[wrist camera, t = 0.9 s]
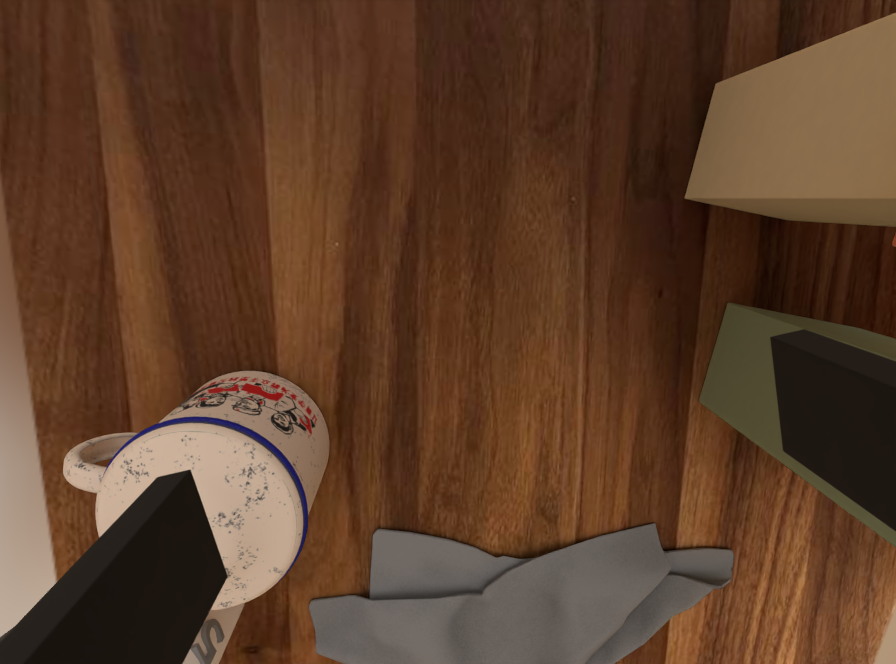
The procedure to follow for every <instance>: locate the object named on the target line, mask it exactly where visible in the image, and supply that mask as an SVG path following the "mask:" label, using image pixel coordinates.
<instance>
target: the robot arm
mask: <svg viewBox="0 0 896 664" xmlns="http://www.w3.org/2000/svg"><path fill="white" fill-rule="evenodd" d="M770 340H771V349H772V358H773V367H774V376H775V385H776V394H777V402H778V411H779V420H780V429H781V438H782V447H783V451H784V452H785V453H786V454H788V455H789V456H791V457H792V458H793V459H795V460H796V461H798V462H799V463H800V464H802V465H803V466H805V467H806V468H807V469H809V470H810V471H812V472H813V473H814V474H816V475H817V476H819V477H820V478H821V479H823V480H824V481H826V482H827V483H828V484H830V485H831V486H833V487H834V488H835V489H837V490H838V491H840V492H841V493H842V494H844V495H845V496H847V497H848V498H849V499H851V500H852V501H854V502H855V503H856V504H858V505H859V506H861V507H862V508H863V509H865V510H866V511H868V512H869V513H870V514H872V515H873V516H875V517H876V518H877V519H879V520H880V521H882V522H883V523H884V524H886V525H887V526H889V527H890V528H891V529H893V530H894V531H896V361H893V360H891V359H888V358H885V357H882V356H879V355H876V354H874V353H871V352H868V351H865V350H862V349H859V348H857V347H854V346H851V345H848V344H845V343H842V342H840V341H837V340H834V339H831V338H828V337H825V336H822V335H820V334H817V333H814V332H811V331H808V330H805V329H803V330H798V331H794V332H790V333H785V334H781V335H777V336H772V337H770ZM227 577H228V575H227V573H226V570H225V567H224V564H223V561H222V558H221V555H220V552H219V550H218V547H217V544H216V541H215V538H214V535H213V532H212V529H211V527H210V524H209V521H208V518H207V515H206V512H205V509H204V506H203V504H202V501H201V498H200V495H199V492H198V489H197V486H196V484H195V481H194V478H193V475H192V472H191V469H190V470H186V471H181V472H177V473H173V474H168V475H164V476H160V477H157V478H156V479H155V480H154V481H153V482H152V483H151V484H150V485H149V486H148V487H147V488H146V489H145V490H144V491H143V493H142V494H141V495H140V496H139V497H138V498H137V499H136V500H135V501H134V502H133V503H132V504H131V505H130V506H129V507H128V508H127V509H126V510H125V511H124V512H123V514H122V515H121V516H120V517H119V518H118V519H117V520H116V521H115V522H114V523H113V524H112V525H111V526H110V527H109V528H108V529H107V530H106V531H105V532H104V533H103V535H102V536H101V537H100V538H99V539H98V540H97V541H96V542H95V543H94V544H93V545H92V546H91V547H90V548H89V549H88V550H87V551H86V552H85V553H84V554H83V556H82V557H81V558H80V559H79V560H78V561H77V562H76V563H75V564H74V565H73V566H72V567H71V568H70V569H69V570H68V571H67V572H66V573H65V574H64V575H63V577H62V578H61V579H60V580H59V581H58V582H57V583H56V584H55V585H54V586H53V587H52V588H51V589H50V590H49V591H48V592H47V593H46V594H45V595H44V597H43V598H42V599H41V600H40V601H39V602H38V603H37V604H36V605H35V606H34V607H33V608H32V609H31V610H30V611H29V612H28V613H27V614H26V615H25V616H24V617H23V619H22V620H21V621H20V622H19V623H18V624H17V625H16V626H15V627H13V628H12V629H11V630H10V631H8V632H7V633H5V634H4V635H3V636H1V637H0V664H183V662H184V660H185V658H186V656H187V654H188V652H189V650H190V648H191V647H192V645H193V643H194V641H195V639H196V637H197V635H198V633H199V631H200V629H201V627H202V625H203V623H204V621H205V620H206V618H207V616H208V614H209V612H210V610H211V608H212V606H213V604H214V602H215V600H216V598H217V596H218V594H219V593H220V591H221V589H222V587H223V585H224V583H225V581H226V579H227Z"/></svg>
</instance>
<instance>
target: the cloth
mask: <svg viewBox="0 0 896 664" xmlns="http://www.w3.org/2000/svg"><path fill="white" fill-rule="evenodd" d="M733 561H734V555H733V552H732V550H731V549H718V548H696V549H684V550H673V551H663V549H662V547H661V545H660V541H659V537H658V533H657V529H656V526H655V523H651V524H647V525H643V526H639V527H635V528H631V529H626V530H622V531H618V532H614V533H610V534H606V535H601V536H598V537H595V538H592V539H589V540H586V541H583V542H580V543H577V544H574V545H571V546H568V547H565V548H562V549H559V550H556V551H553V552H550V553H547V554H544V555H542V556H539V557H536V558H528V559H517V558H512V557H507V556H501V557H497V558H496V557H494V556H492V555H490V554H488V553H486V552H484V551H482V550H480V549H478V548H476V547H473V546H470V545H466V544H463V543H460V542H456V541H453V540H449V539H445V538H439V537H434V536H429V535H423V534H418V533H413V532H405V531H395V530H385V529H377V530H376V531H375V532H374V534H373V545H372V560H371V576H370V595H369V599H367V598H364V597H361V596H358V595H347V596H338V597H329V598H320V599H312V600H311V602H310V604H309V610H310V614H311V617H312V621H313V624H314V628H315V635H316V653H317V654H320V655H322V656H325V657H327V658H330V659H333V660H335V661H338V662H341V663H344V664H615V663H616V662H618V661H619V660H620V659H622V658H623V657H625V656H626V655H628V654H629V653H631V652H632V651H634V650H635V649H637V648H639V647H640V646H642V645H643V644H644V643H645V642H646V641H648V640H649V639H650V638H651V637H652V636H653V635H654V634H655V633H656V632H657V631H658V630H659V629H660V628H661V627H662V626H663V625H664V624H665V623H666V622H667V621H668V620H669V619H671V618H672V617H673V616H674V615H677V614H679V613H681V612H683V611H685V610H688V609H690V608H692V607H693V606H694V605H696V604H697V603H698V602H699V601H700V600H701V599H703V598H704V597H705V596H706V595H707V594H708V593H710V592H711V591H712V590H713V589H722V588H723V587H724V586H725V585H727V584H728V583H729V582H730V581H731V575H732V568H733Z"/></svg>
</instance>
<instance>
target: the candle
mask: <svg viewBox="0 0 896 664" xmlns="http://www.w3.org/2000/svg"><path fill="white" fill-rule="evenodd" d="M244 604H245V603H243V604H240V605H237V606H234V607H229V608H225V609H219V610H210V612H209V614H208V616H207V618H206V620H205V621H204V623H203V625H202V627H201V629H200V631H199V633H198V635H197V637H196V639H195V641H194V643H193V645H192V647H191V648H190V650H189V652H188V654H187V656H186V658H185V660H184V662H183V664H219V662H220V659H221V657H222V655H223V653H224V650H225V648H226V646H227V643H228V641H229V639H230V637H231V634H232V632H233V630H234V628H235V625H236V623H237V621H238V618H239V616H240V614H241V612H242V609H243V607H244Z"/></svg>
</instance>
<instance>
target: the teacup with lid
mask: <svg viewBox="0 0 896 664" xmlns="http://www.w3.org/2000/svg"><path fill="white" fill-rule="evenodd" d="M329 445H330V442H329V434H328V429H327V426H326V422H325V420H324V418H323V415H322V413H321V412H320V410H319V408H318V407H317V405H316V404H315V402H314V401H313V400H312V399H311V398H310V397H309V396H308V395H307V394H306V393H305V392H304V391H303V390H302V389H301V388H299V387H298V386H296V385H295V384H293V383H292V382H290V381H288V380H286V379H284V378H282V377H279V376H277V375H273V374H270V373H266V372H259V371H239V372H233V373H229V374H225V375H222V376H220V377H217V378H215V379H213V380H211V381H209V382H208V383H206V384H204V385H203V386H202V387H200V388H199V389H198V390H197V391H196V392H194V393H193V394H192V395H191V396H190V397H188V398H187V399H186V400H185V401H184V402H183V403H181V404H180V405H179V406H178V407H177V408H175V409H174V410H173V411H172V412H171V413H170V414H168V415H167V416H166V417H165V418H164V419H162V420H161V421H160V422H159V423H158V424H155V425H153V426H151V427H149V428H147V429H145V430H143V431H141V432H140V433H117V434H110V435H105V436H100V437H97V438H93V439H90V440H88V441H85V442H83V443H81V444H79V445H77V446H76V447H74V448H73V449H72V450H70V451H69V452H68V454H67V455H66V457H65V459H64V466H63V474H64V477H65V478H66V480H67V481H68V482H69V483H70V484H72V485H73V486H75V487H77V488H79V489H82V490H85V491H89V492H94V493H97V499H96V524H97V530H98V534H99V538H100V537H101V536H102V535H103V533H104V532H105V531H106V530H107V529H108V528H109V527H110V526H111V525H112V524H113V523H114V522H115V521H116V520H117V519H118V518H119V517H120V516H121V515H122V514H123V512H124V511H125V510H126V509H127V508H128V507H129V506H130V505H131V504H132V503H133V502H134V501H135V500H136V499H137V498H138V497H139V496H140V495H141V494H142V493H143V491H144V490H145V489H146V488H147V487H148V486H149V485H150V484H151V483H152V482H153V481H154V480H155V479H156V478H157V477H160V476H164V475H168V474H173V473H177V472H181V471H186V470H190V469H191V472H192V475H193V478H194V481H195V484H196V486H197V489H198V492H199V495H200V498H201V501H202V504H203V506H204V509H205V512H206V515H207V518H208V521H209V524H210V527H211V529H212V532H213V535H214V538H215V541H216V544H217V547H218V550H219V552H220V555H221V558H222V561H223V564H224V567H225V570H226V573H227V575H228V577H227V579H226V581H225V583H224V585H223V587H222V589H221V591H220V593H219V594H218V596H217V598H216V600H215V602H214V604H213V606H212V608H211V610H219V609H225V608H229V607H234V606H237V605H240V604H243V603H246V602H248V601H250V600H252V599H255V598H256V597H258V596H260V595H262V594H263V593H265V592H266V591H267V590H269V589H270V588H271V587H273V586H274V585H275V584H276V583H277V582H279V581H280V580H281V579H282V578H283V577H284V576H285V575H286V574H287V573H288V571H289V570H290V569H291V567H292V566H293V565H294V563H295V561H296V560H297V558H298V556H299V554H300V552H301V550H302V547H303V544H304V541H305V538H306V533H307V527H308V515H309V512H310V510H311V507H312V504H313V501H314V499H315V496H316V493H317V491H318V488H319V485H320V482H321V480H322V477H323V474H324V471H325V469H326V466H327V462H328V458H329ZM109 458H112V460H111V461H110V463H109V464H108V466H107V467H103V466H98V465H94V463H96V462H99V461H102V460H105V459H109Z"/></svg>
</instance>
